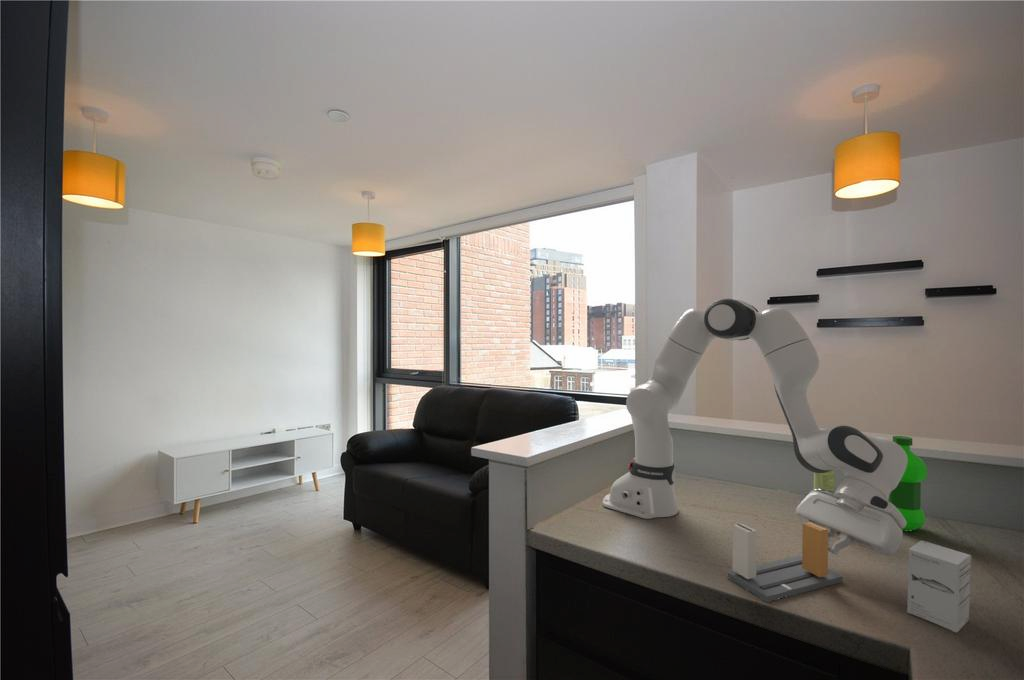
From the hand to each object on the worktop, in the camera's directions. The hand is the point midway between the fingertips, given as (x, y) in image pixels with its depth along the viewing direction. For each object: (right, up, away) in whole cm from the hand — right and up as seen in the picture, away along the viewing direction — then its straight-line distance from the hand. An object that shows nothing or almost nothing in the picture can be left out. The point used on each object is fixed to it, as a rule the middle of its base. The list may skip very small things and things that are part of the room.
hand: (827, 550), depth 101 cm
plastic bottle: (+38, -6, +25) cm, 46 cm away
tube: (+18, -6, +28) cm, 34 cm away
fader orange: (-4, -4, -1) cm, 6 cm away
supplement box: (+11, -6, -14) cm, 19 cm away
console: (-10, -6, -1) cm, 12 cm away
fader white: (-20, -4, -2) cm, 20 cm away
